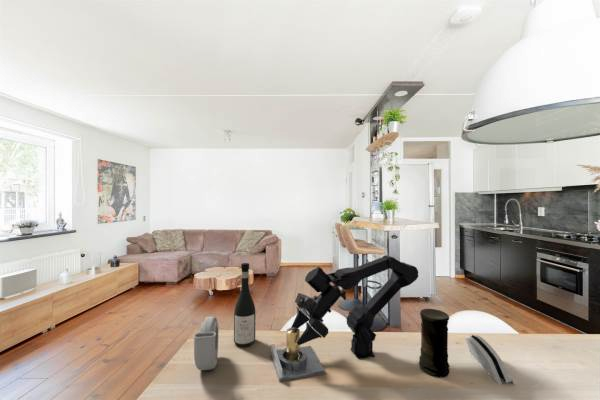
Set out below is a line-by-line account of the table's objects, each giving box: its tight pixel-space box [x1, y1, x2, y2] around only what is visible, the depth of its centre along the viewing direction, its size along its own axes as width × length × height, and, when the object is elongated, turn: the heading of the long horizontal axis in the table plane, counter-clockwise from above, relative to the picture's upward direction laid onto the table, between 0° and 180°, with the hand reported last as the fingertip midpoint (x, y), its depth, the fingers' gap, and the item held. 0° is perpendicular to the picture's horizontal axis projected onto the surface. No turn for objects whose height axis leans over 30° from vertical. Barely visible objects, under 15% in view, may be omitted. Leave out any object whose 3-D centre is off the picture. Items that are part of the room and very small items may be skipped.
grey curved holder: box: [192, 316, 219, 371], centre depth 89 cm, size 17×6×15 cm, turn 9°
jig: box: [270, 343, 326, 382], centre depth 91 cm, size 14×15×3 cm
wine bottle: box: [233, 262, 256, 348], centre depth 104 cm, size 8×8×30 cm
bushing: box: [285, 327, 301, 361], centre depth 91 cm, size 4×4×10 cm
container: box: [418, 308, 450, 379], centre depth 88 cm, size 9×9×18 cm
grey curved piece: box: [465, 334, 516, 386], centre depth 89 cm, size 17×5×10 cm, turn 173°
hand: (294, 337), depth 91 cm, fingers open, 9 cm apart
